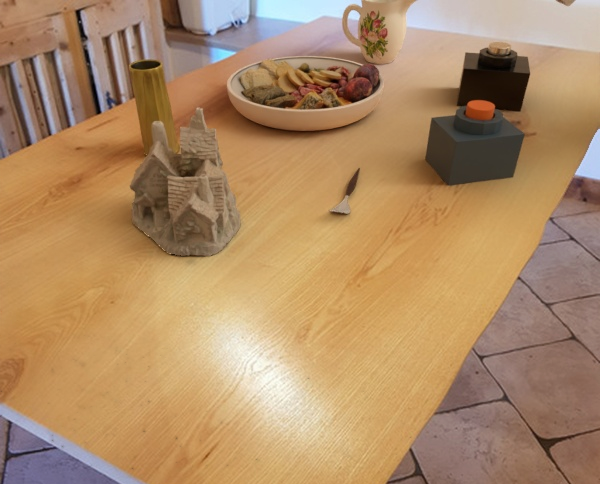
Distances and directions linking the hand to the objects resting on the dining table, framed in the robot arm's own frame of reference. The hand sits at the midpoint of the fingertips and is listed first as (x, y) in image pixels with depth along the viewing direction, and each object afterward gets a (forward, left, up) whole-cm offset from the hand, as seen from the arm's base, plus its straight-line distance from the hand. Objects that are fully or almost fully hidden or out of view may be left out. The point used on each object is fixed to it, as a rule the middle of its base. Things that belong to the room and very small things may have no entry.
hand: (559, 0), depth 77 cm
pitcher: (+31, -44, -23) cm, 59 cm away
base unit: (+5, -24, -23) cm, 34 cm away
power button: (+5, -24, -15) cm, 28 cm away
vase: (+59, +13, -23) cm, 65 cm away
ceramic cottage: (+46, +33, -23) cm, 61 cm away
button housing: (+8, +7, -23) cm, 25 cm away
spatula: (+25, +20, -23) cm, 40 cm away
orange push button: (+8, +7, -15) cm, 18 cm away
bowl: (+40, -12, -23) cm, 48 cm away
